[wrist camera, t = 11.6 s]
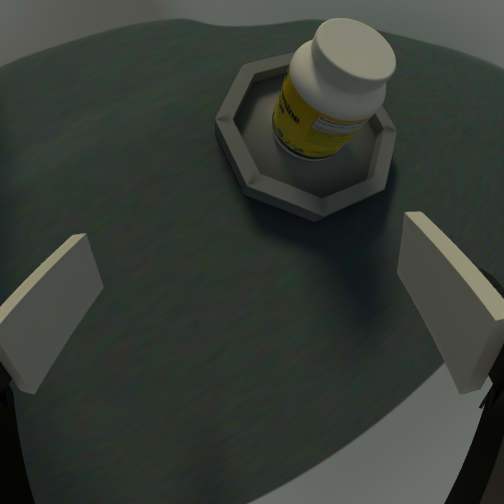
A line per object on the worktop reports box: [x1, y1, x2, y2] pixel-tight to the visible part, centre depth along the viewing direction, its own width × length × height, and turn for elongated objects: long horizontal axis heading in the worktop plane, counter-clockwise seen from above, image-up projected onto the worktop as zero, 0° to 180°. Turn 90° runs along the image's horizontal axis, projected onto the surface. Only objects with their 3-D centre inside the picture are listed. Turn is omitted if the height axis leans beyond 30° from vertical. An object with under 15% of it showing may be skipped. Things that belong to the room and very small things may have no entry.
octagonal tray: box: [215, 52, 397, 222], centre depth 24 cm, size 14×14×2 cm
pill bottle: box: [271, 18, 396, 161], centre depth 19 cm, size 6×6×11 cm
